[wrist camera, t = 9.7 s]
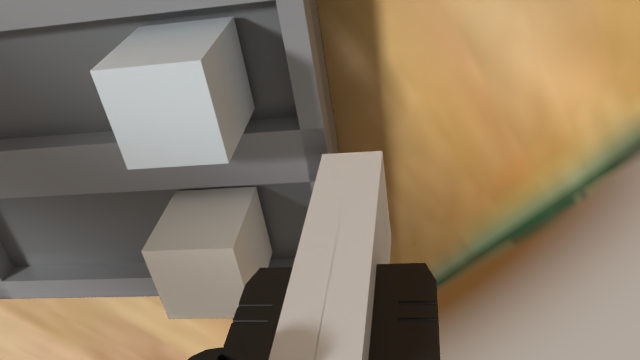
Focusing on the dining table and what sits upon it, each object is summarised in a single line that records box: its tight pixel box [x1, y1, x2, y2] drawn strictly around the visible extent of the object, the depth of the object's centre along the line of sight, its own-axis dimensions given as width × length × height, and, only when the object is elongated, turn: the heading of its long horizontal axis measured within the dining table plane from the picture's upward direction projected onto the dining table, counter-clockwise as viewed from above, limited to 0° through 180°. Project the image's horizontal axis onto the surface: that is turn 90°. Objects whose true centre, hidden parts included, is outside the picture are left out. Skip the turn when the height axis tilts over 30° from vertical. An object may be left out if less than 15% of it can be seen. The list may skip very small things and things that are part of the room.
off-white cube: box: [141, 187, 272, 319], centre depth 27 cm, size 4×4×4 cm
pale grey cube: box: [90, 16, 255, 170], centre depth 22 cm, size 4×4×4 cm
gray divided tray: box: [0, 0, 339, 299], centre depth 28 cm, size 20×16×3 cm
